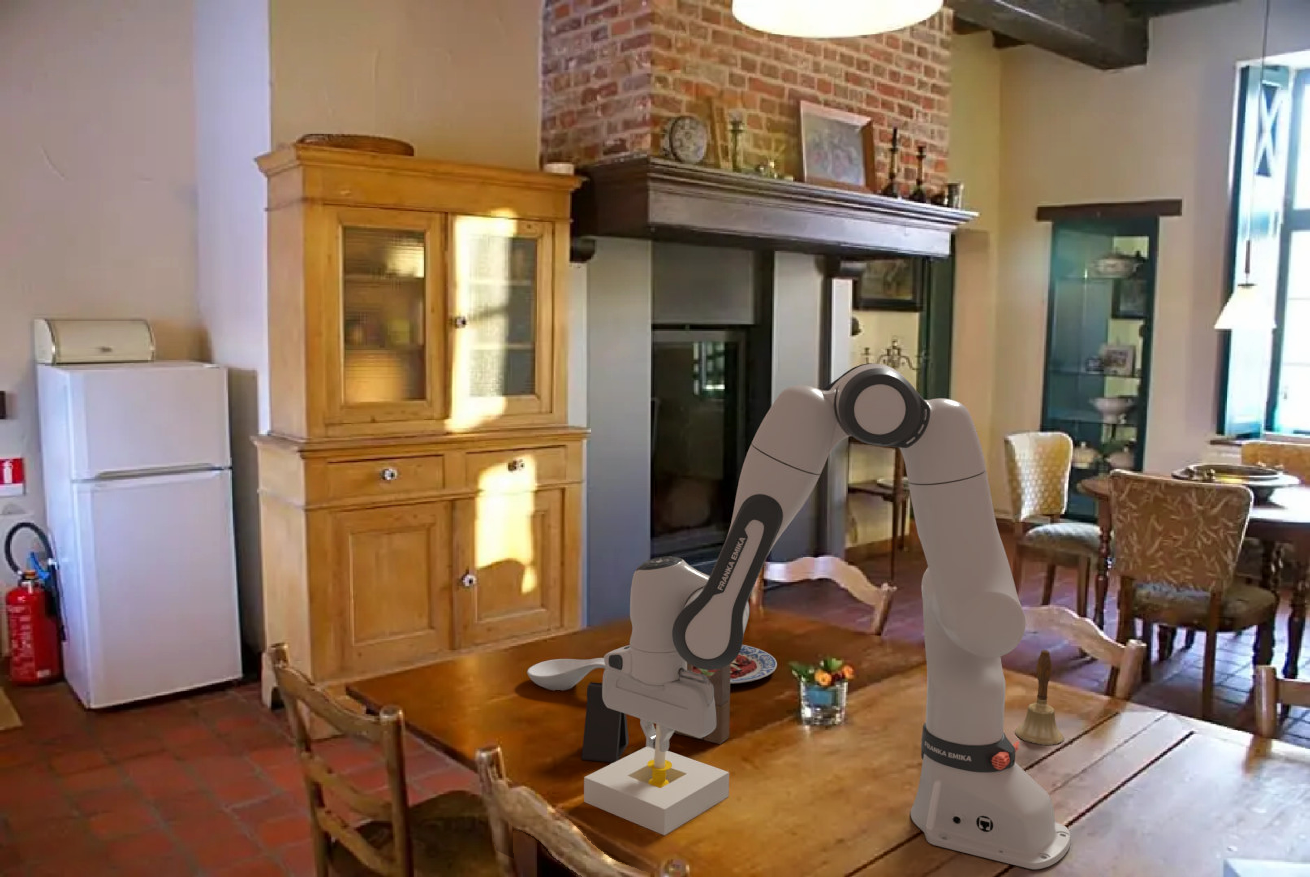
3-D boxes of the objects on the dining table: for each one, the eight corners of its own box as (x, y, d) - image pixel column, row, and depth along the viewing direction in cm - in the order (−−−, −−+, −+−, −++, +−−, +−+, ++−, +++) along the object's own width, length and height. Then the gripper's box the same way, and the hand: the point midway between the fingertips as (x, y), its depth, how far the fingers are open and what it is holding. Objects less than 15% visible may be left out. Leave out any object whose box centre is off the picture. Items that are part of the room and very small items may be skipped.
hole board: (728, 796, 162) (729, 772, 161) (664, 835, 150) (664, 809, 149) (650, 767, 172) (650, 744, 171) (584, 802, 160) (584, 777, 159)
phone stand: (615, 764, 173) (615, 695, 172) (581, 760, 174) (581, 692, 173) (629, 743, 182) (629, 677, 180) (596, 739, 183) (596, 674, 182)
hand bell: (1071, 736, 187) (1076, 650, 185) (1052, 749, 181) (1057, 661, 179) (1026, 723, 192) (1031, 640, 190) (1007, 736, 186) (1011, 650, 184)
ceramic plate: (698, 644, 238) (698, 631, 237) (798, 667, 223) (798, 653, 222) (631, 674, 217) (631, 661, 217) (736, 702, 202) (736, 687, 202)
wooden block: (721, 745, 181) (722, 646, 179) (667, 732, 186) (668, 636, 184) (729, 738, 184) (731, 640, 182) (677, 725, 190) (678, 630, 187)
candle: (634, 797, 160) (638, 701, 158) (655, 786, 164) (660, 692, 162) (660, 809, 156) (665, 711, 154) (681, 797, 161) (686, 701, 158)
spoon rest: (516, 689, 208) (516, 655, 207) (548, 672, 218) (548, 639, 217) (619, 711, 197) (619, 675, 196) (647, 691, 207) (647, 657, 206)
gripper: (725, 672, 154) (724, 760, 156) (622, 643, 167) (622, 725, 168) (700, 683, 149) (699, 774, 151) (596, 653, 162) (595, 737, 164)
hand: (657, 748), depth 160 cm, fingers closed on candle
